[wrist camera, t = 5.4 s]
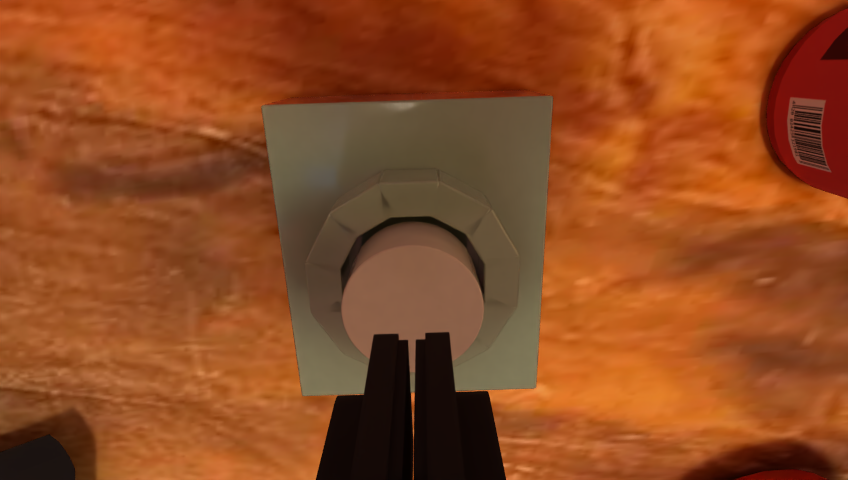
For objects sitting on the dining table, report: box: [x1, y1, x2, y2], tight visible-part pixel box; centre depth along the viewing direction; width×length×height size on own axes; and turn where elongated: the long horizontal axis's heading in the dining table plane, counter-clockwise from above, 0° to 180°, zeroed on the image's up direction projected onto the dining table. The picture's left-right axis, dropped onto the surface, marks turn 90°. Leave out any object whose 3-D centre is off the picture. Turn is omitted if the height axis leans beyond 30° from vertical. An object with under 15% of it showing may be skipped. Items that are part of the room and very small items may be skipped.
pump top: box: [341, 221, 484, 372], centre depth 16 cm, size 4×4×2 cm
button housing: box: [261, 90, 553, 396], centre depth 19 cm, size 12×10×6 cm
